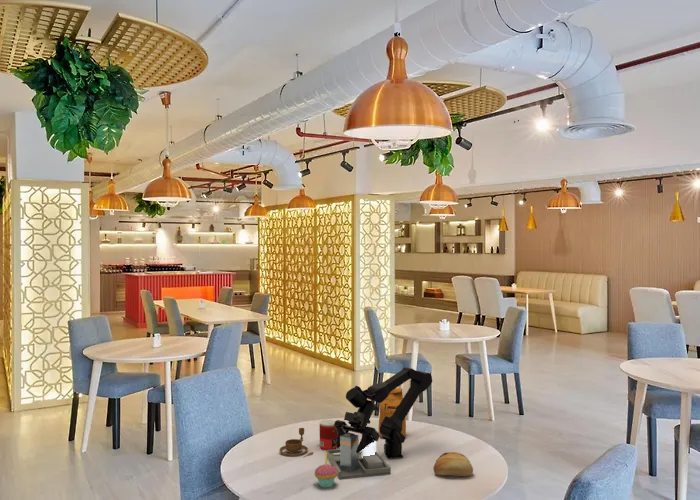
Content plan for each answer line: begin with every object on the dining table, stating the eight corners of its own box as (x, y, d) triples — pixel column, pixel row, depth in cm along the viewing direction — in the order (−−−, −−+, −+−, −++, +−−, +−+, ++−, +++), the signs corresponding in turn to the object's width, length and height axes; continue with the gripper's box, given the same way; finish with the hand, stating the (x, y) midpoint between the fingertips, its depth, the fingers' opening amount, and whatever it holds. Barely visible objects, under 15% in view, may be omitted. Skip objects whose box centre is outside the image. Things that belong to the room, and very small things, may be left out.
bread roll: (431, 470, 230) (431, 449, 230) (469, 469, 231) (469, 449, 231) (435, 480, 221) (435, 458, 221) (475, 479, 221) (475, 458, 221)
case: (372, 450, 251) (372, 441, 251) (390, 474, 226) (390, 463, 226) (325, 455, 247) (325, 445, 247) (339, 479, 221) (339, 468, 221)
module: (348, 466, 232) (348, 431, 232) (358, 468, 229) (358, 433, 229) (340, 470, 228) (340, 434, 228) (350, 473, 225) (350, 437, 225)
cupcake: (314, 480, 220) (314, 448, 220) (337, 479, 221) (337, 447, 221) (315, 490, 212) (314, 456, 211) (338, 489, 212) (338, 456, 212)
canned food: (335, 451, 251) (335, 425, 251) (317, 450, 253) (317, 424, 252) (339, 445, 258) (339, 420, 258) (321, 444, 260) (321, 419, 260)
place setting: (268, 452, 251) (268, 438, 251) (300, 440, 267) (300, 427, 267) (299, 461, 241) (299, 447, 241) (330, 448, 257) (330, 434, 257)
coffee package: (406, 440, 265) (406, 390, 265) (378, 439, 266) (378, 390, 266) (405, 432, 275) (405, 385, 275) (378, 432, 276) (378, 385, 276)
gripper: (336, 399, 237) (318, 434, 228) (375, 407, 226) (358, 444, 217) (348, 414, 243) (331, 449, 234) (386, 422, 232) (370, 459, 223)
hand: (347, 450), depth 227 cm, fingers open, 9 cm apart
